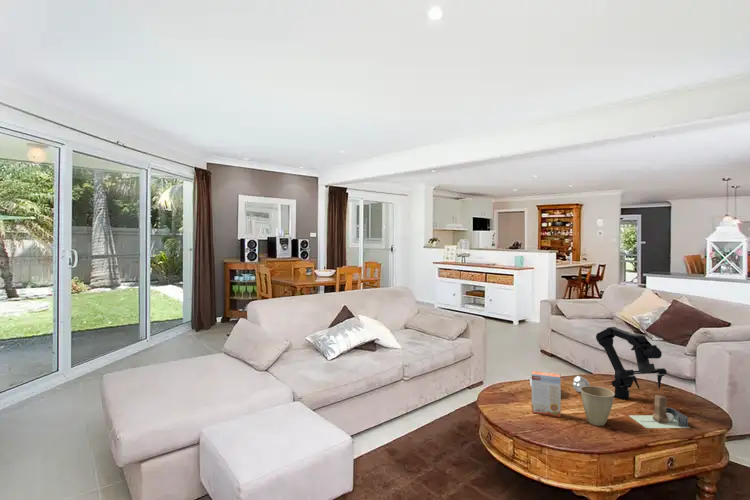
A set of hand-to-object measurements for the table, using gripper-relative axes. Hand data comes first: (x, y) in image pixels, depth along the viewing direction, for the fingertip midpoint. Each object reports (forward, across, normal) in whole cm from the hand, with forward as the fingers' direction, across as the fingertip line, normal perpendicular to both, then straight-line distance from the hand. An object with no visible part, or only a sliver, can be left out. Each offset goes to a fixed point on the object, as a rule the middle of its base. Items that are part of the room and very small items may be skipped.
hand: (649, 388), depth 221 cm
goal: (+14, +7, -10) cm, 19 cm away
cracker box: (+8, -49, -28) cm, 57 cm away
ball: (+12, +5, -11) cm, 18 cm away
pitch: (+15, 0, -13) cm, 20 cm away
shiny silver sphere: (+2, -35, +12) cm, 37 cm away
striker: (+14, +1, -13) cm, 19 cm away
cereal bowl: (+1, -53, +2) cm, 53 cm away
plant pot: (+13, -26, -28) cm, 40 cm away
